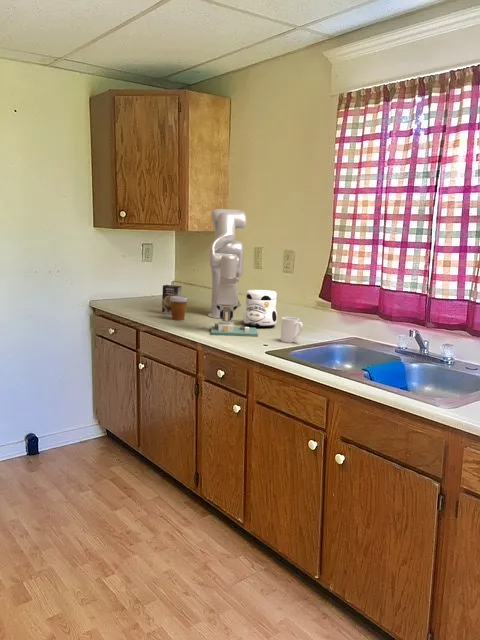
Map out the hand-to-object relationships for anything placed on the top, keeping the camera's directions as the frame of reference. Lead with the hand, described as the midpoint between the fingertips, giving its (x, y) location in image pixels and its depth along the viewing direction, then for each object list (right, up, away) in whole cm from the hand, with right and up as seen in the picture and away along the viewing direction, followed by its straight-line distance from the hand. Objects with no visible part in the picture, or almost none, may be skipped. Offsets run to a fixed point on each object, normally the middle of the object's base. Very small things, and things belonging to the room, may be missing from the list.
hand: (226, 318), depth 270 cm
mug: (+30, -11, -14) cm, 35 cm away
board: (+4, -6, +1) cm, 8 cm away
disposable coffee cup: (-26, 0, +30) cm, 40 cm away
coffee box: (-32, +3, +45) cm, 55 cm away
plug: (0, -1, 0) cm, 1 cm away
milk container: (+17, -4, +22) cm, 28 cm away
